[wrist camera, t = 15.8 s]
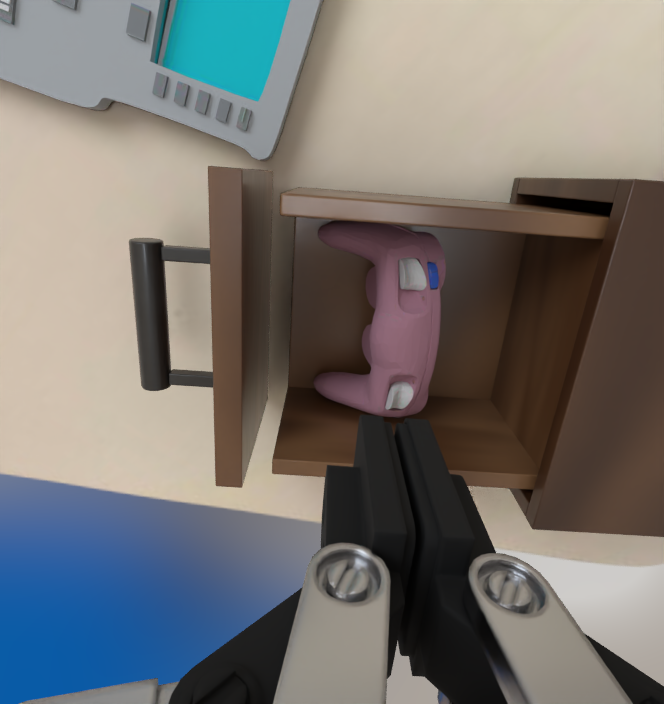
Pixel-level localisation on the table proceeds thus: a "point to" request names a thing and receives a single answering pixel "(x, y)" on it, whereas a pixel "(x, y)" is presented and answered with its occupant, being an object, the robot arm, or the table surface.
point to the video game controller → (391, 318)
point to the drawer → (356, 313)
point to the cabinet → (608, 371)
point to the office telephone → (166, 59)
